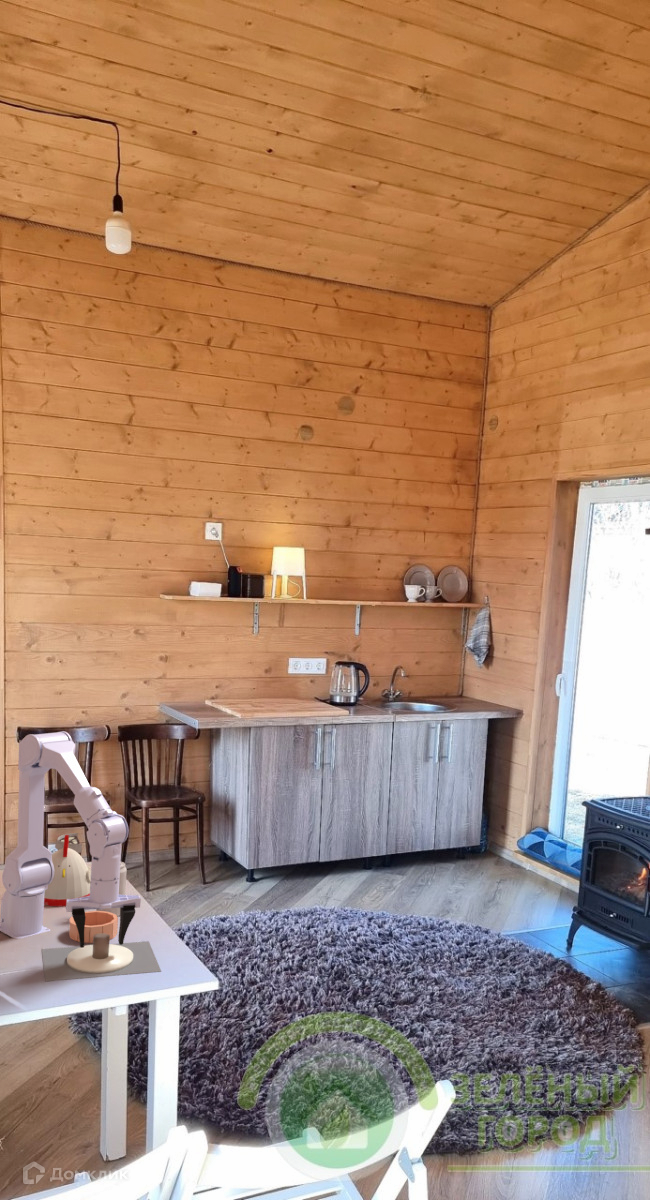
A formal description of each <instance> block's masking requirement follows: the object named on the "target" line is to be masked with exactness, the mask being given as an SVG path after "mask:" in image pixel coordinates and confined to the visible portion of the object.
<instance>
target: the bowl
mask: <svg viewBox="0 0 650 1200" xmlns="http://www.w3.org/2000/svg"><path fill="white" fill-rule="evenodd" d="M85 917H86V918H85V928H84V944H93V937H94V935H96V934H100V933H105V934H108V935H110V940H112V939H114V938H115V937H116V936H117V934H118V930H119V927H118V925H119V924H118V923H119V919H118V918H119V917H117V915H116V914H113V913H111V912H106V911H96V910H89V911H85ZM68 921H69V923H68V924H69V925H68V935H69V938H70V939H71V940H73V941H75V942H78V943H80V940H79V933H78V929H77V926H76V923H75V921H74V919H73V916H71V917H70V918H69V919H68Z"/></svg>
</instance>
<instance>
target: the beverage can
mask: <svg viewBox="0 0 650 1200" xmlns="http://www.w3.org/2000/svg"><path fill="white" fill-rule="evenodd" d="M127 871H128V870H127V867H126V863H125V862H124V861H121V863H120V879H119V895H126V886H127ZM95 911H106V912H111V913H113V914H116V915H117V918H119V917H120V908H105V909H95Z"/></svg>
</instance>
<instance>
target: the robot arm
mask: <svg viewBox="0 0 650 1200" xmlns="http://www.w3.org/2000/svg"><path fill="white" fill-rule="evenodd" d="M75 752H76V743H75V742H74V741H73V739H72V737H71V735H70V734H69V733H68V732H67V731H64V730H63V731H57V732H48V733H39V734H38V733H37V734H31V733H30V734H27V735H25V737H24V738H22V739H21V740H20V742H19V743H18V765H17V766H18V768H17V769H18V770H19V772H18V773H19V774H18V802H17V803H18V807H17V809H18V813H17V845H16V846H15V848H14V849H13V850H12V851H11V852H10V853H9V854H8V855H7V856H5V861H4V862H5V863H4V868H3V871H2V874H1V881H2V885H3V887H4V889H5V891H4V893H3V895H2V898H1V902H0V903H1V904H0V932H1V933H3V934H5V935H6V936H9V937H11V938H13V939H16V940H18V939H19V940H21V939H25V938H29V937H31V936H36V935H40V934H43V933H47V932H51V929H50V928H48V927H46V926H44V922H43V921H44V909H45V908H44V907H45V905H44V895H45V890H47V889H48V884H50V883H51V882H52V880H53V877H54V866H53V863H52V854H53V852H51V851H50V850H49V849H48V848H47V847H46V846H44V826H45V825H44V824H45V823H44V821H45V777H46V773H47V772H48V771H50V769H53V770H56V771H57V772H58V774H59V775H60V777H61V778H62V779H63V780H64V782H65V783H66V785H67V786H68V787H69V789H70V791H72V793H73V795H74V799H73V805H74V807H75V808H76V811H77V812H78V815H79V816H80V817H81V819H82V820H83V822H84V824H85V825H86V827H87V829H88V830H87V831H86V837H87V839H86V840H87V842H88V845H89V853H90V856H91V866H90V869H91V881H90V896H87V897H81V898H75V899H67V900H66V906H65V910H66V913H71V915H72V916H73V919H74V921H75V923H76V926H77V929H78V933H79V940H80V942H79V946H80V948H83V947H84V946H85V943H84V928H85V918H86V917H85V912H86V911H87V910H89V911H90V910H96V909H105V908H120V916H119V927H118V937H117V938H118V939H117V940H118V943H119V944H120V945H123V943H125V942H124V941H125V937H126V934H127V931H128V929H129V926H130V924H131V922H132V920H133V919H134V917H135V914H136V909H137V908H141V902H142V901H141V900H142V899H141V896H140V895H134V894H131V895H130V894H125V895H119V879H120V863H121V862H122V861H121V859H122V844H123V843H125V842H126V841H127V838H128V837H129V831H130V830H129V825H128V822H127V820H126V818H125V817H124V815H122V814H119V813H117V811H114V810H112V808H111V807H110V805H109V804H108V802H107V800H106V798H105V797H104V795H103V792H101V790H100V789H99V788H98V787H95V786H91V785H90V783H89V782H88V779H87V777H86V776H85V773H84V771H83V769H82V768H81V766H80V764H79V761H78V760H77V758H76V755H75ZM72 916H71V917H72Z"/></svg>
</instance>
